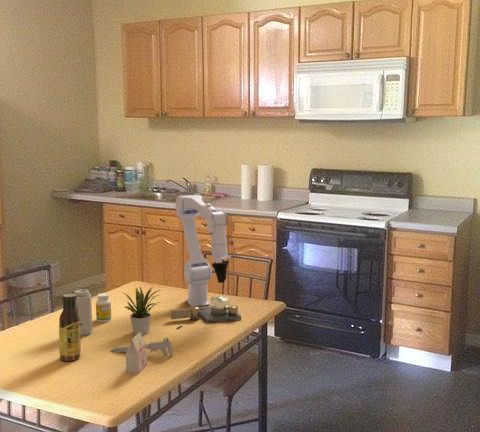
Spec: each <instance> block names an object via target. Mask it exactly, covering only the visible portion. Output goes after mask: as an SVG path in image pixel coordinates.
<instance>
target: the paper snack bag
mask: <svg viewBox="0 0 480 432" xmlns="http://www.w3.org/2000/svg"><path fill="white" fill-rule="evenodd" d="M130 340H131V341H130V344H129V345H128V346H129V348H128V350H127V351H126V352H125V366H126V370H125V371H126V374H133V375H137V374H138V375H139V374H140V373H142V372H143V370H144V368H145V367H147V363H148V362H147V360H148V359H147V355H148V354H147V350H146V344H147V343H145V341H144V338H143V335H141V332H139V333H138V334H137V335H134V337H133V338H132V339H130Z"/></svg>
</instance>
